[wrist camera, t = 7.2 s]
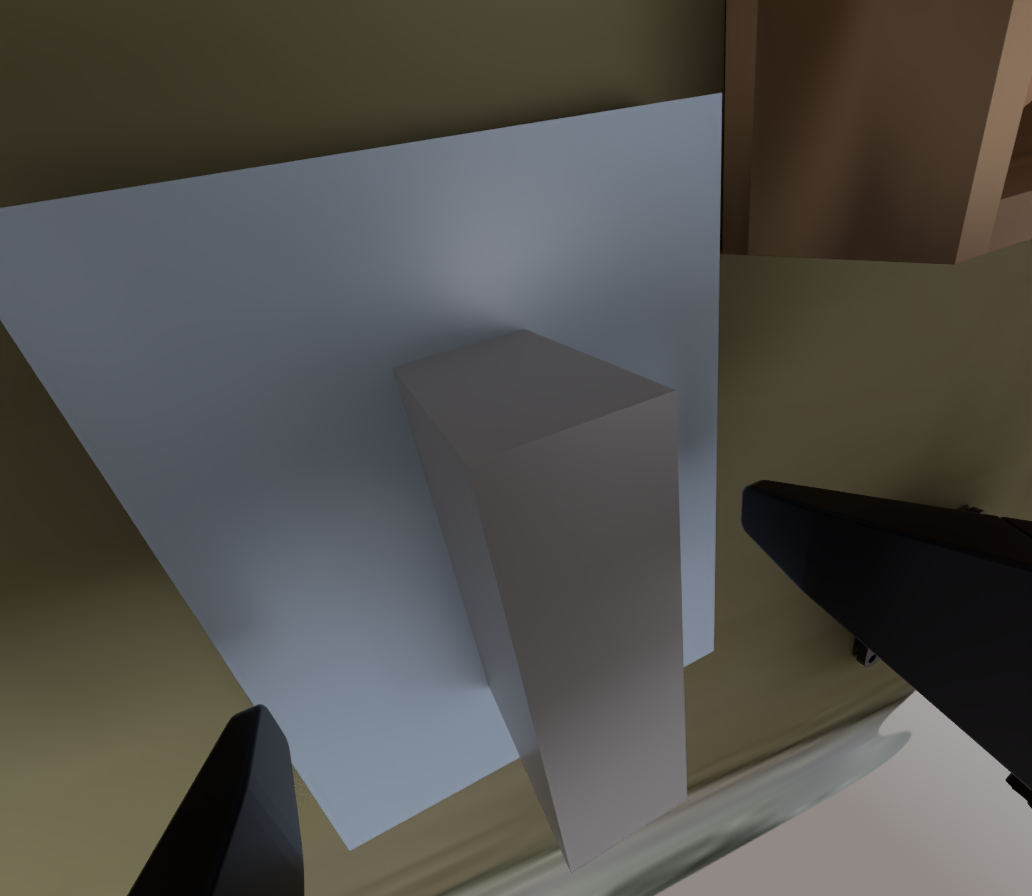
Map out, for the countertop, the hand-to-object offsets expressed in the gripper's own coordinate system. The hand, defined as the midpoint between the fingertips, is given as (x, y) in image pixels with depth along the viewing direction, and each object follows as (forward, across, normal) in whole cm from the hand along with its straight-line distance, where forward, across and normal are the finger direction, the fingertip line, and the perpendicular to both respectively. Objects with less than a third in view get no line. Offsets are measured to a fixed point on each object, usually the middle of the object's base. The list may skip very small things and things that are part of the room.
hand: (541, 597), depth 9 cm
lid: (+4, 0, 0) cm, 4 cm away
